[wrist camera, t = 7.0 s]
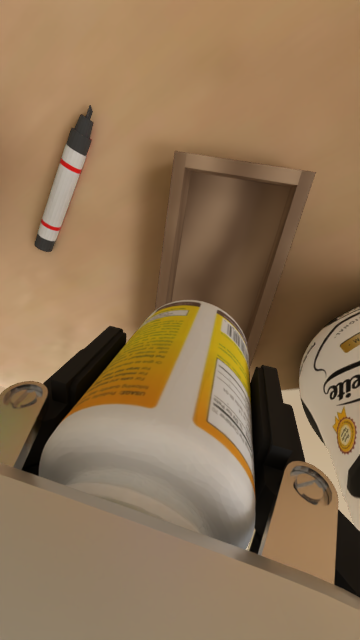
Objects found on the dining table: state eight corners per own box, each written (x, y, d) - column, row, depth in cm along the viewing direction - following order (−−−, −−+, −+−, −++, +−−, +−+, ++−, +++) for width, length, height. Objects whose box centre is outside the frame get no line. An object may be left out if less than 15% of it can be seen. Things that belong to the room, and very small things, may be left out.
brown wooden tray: (304, 177, 23) (315, 172, 19) (244, 361, 32) (245, 381, 28) (184, 158, 24) (174, 150, 21) (159, 339, 33) (149, 356, 29)
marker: (55, 250, 32) (44, 253, 30) (42, 241, 31) (30, 243, 30) (105, 115, 25) (94, 109, 23) (88, 103, 24) (76, 95, 23)
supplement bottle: (129, 362, 15) (-55, 618, 6) (164, 276, 12) (-72, 490, 3) (218, 405, 15) (176, 742, 5) (271, 327, 12) (358, 712, 3)
